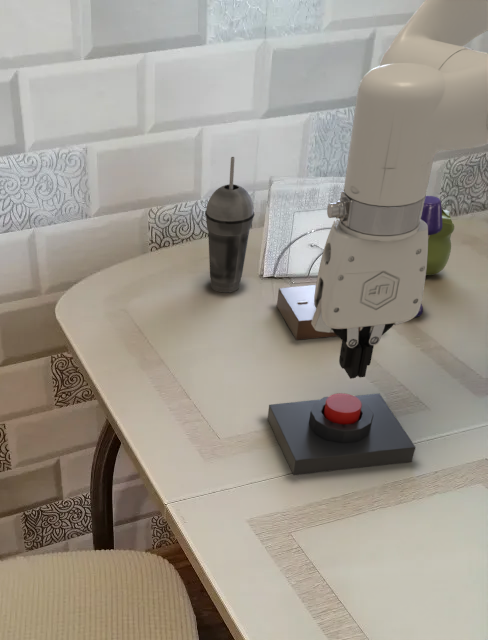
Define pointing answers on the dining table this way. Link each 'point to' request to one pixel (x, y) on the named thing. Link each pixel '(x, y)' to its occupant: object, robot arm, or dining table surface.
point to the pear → (440, 246)
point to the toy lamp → (431, 221)
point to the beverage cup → (228, 233)
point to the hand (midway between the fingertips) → (353, 370)
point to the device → (339, 436)
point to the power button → (342, 408)
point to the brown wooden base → (300, 311)
